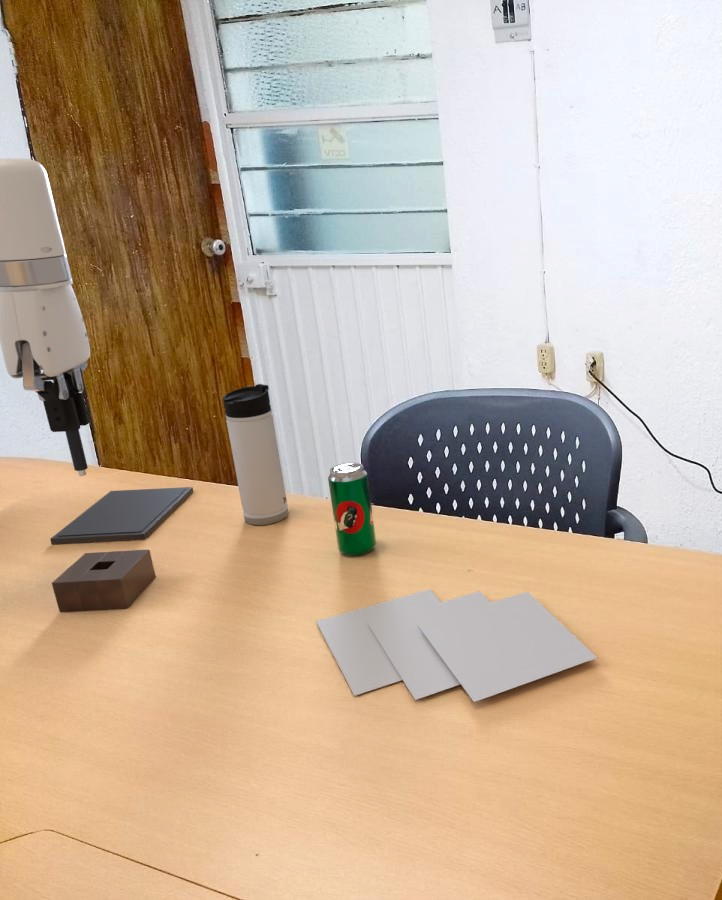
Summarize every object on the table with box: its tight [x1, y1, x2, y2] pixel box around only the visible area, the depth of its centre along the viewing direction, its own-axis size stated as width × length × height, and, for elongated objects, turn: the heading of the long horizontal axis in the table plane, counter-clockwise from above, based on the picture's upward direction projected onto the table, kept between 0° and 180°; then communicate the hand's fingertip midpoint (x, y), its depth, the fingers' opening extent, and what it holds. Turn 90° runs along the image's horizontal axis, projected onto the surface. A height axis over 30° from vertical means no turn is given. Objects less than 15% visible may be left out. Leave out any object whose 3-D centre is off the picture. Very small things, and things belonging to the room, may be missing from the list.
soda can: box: [327, 462, 377, 557], centre depth 112 cm, size 5×5×12 cm
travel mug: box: [222, 383, 290, 526], centre depth 122 cm, size 6×7×20 cm
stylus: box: [52, 380, 89, 477], centre depth 100 cm, size 1×1×12 cm
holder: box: [51, 549, 157, 613], centre depth 103 cm, size 8×8×4 cm
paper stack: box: [315, 588, 598, 703], centre depth 92 cm, size 23×25×1 cm
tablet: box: [49, 486, 194, 545], centre depth 127 cm, size 13×18×1 cm
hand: (70, 427), depth 100 cm, fingers closed on stylus, 1 cm apart
